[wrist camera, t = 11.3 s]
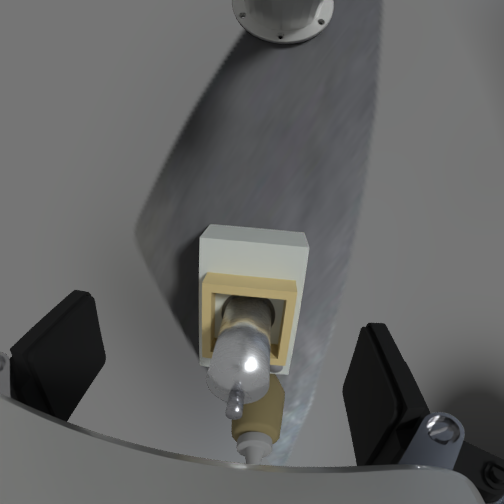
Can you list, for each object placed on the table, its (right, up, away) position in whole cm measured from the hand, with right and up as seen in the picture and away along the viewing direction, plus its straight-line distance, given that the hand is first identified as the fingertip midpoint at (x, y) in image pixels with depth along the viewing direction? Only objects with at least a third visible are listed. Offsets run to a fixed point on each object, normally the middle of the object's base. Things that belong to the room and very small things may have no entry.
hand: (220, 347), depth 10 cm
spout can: (+1, -4, +27) cm, 27 cm away
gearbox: (+1, -2, +33) cm, 33 cm away
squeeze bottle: (+2, -17, +38) cm, 42 cm away
